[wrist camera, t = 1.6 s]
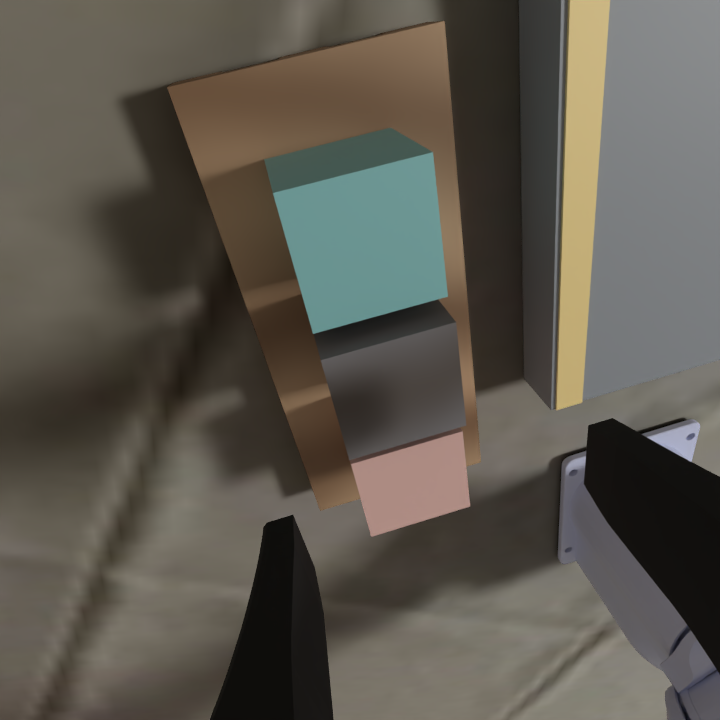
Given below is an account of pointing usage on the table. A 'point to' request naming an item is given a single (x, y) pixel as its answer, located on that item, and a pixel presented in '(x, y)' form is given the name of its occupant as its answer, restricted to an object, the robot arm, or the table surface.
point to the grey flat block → (618, 192)
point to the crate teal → (361, 226)
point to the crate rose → (413, 481)
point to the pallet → (274, 263)
